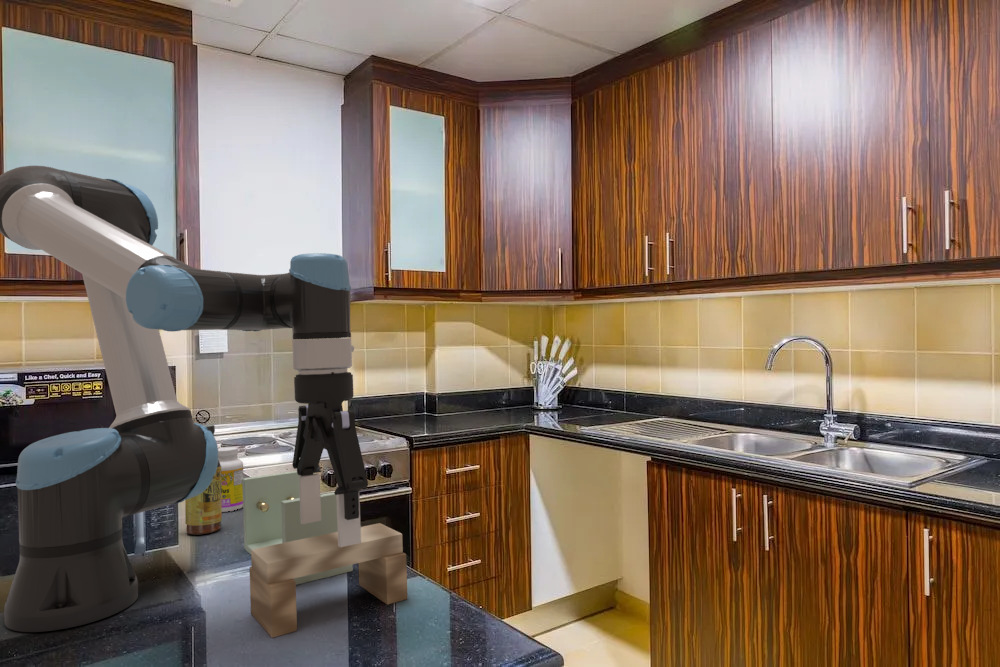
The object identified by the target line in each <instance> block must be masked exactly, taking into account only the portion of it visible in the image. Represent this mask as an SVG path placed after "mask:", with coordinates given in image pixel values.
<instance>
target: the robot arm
mask: <svg viewBox="0 0 1000 667" xmlns="http://www.w3.org/2000/svg"><path fill="white" fill-rule="evenodd" d="M158 219H159V218H158V214H157V211H156V208H155V206H154V204H153V202H152V200H151V198H150V197H149V196H148V195H147V194H146V193H145V192H144V191H142V189H140V188H139V187H137V186H135V185H131V184H128V183H124V182H123V181H119V180H117V179H111V178H101V177H95V176H93V175H87V174H81V173H76V172H73V171H68V170H64V169H58V168H54V167H51V166H45V165H25V166H19V167H15V168H13V169H9V170H7V171H5V172H4V173H2V174H1V175H0V234H1V235H2V236H3V237H4V238H7V239H8V240H10V241H11V242H13V243H15V244H16V245H18V246H20V247H21V248H25V249H28V250H33V251H34V250H35V251H41V250H42V252H45V253H47V254H48V255H50V256H52V257H53V258H55V259H56V260H59V261H60V262H62V263H64V264H66V265H67V266H68V267H70V268H72V269H73V270H75V271H77V272H78V273H80V274H81V275H82V279H83V284H84V287H85V291H86V295H87V299H88V300H87V301H88V304H89V308H90V312H91V316H92V320H93V323H94V327H95V334H96V337H97V340H98V346H99V349H100V352H101V353H100V354H101V358H102V361H103V362H102V363H103V366H104V370H105V375H106V379H107V382H108V386H109V391H110V394H111V399H112V404H113V406H114V410H115V415H116V416H115V419H114V420H113V422H112V423H111V424H110V426H109V427H100V428H99V427H97V428H88V429H82V430H78V431H76V430H75V431H69V432H64V433H60V434H56V435H52V436H49V437H46V438H43V439H39V440H37V441H35V442H32V443H31V444H29V445H28V446H26V447H25V448H24V449H23V450H22V451H21V452H20V454H19V456H18V460H17V469H16V470H17V471H16V472H17V473H16V479H15V485H16V488H17V510H18V511H17V512H18V514H17V515H18V541H19V542H18V543H19V561H18V565H17V568H16V570H15V574H14V577H13V580H12V583H11V586H10V587H9V588H10V589H9V592H8V595H7V598H6V600H5V603H4V608H3V610H4V611H3V612H4V614H3V615H4V626H5V627H6V628H7V629H8V630H11V631H15V632H21V633H42V632H51V631H52V632H53V631H59V630H65V629H70V628H75V627H79V626H83V625H87V624H91V623H94V622H96V621H100V620H103V619H106V618H109V617H111V616H113V615H116V614H118V613H120V612H122V611H123V610H125V609H127V608H129V607H130V606H131V605H133V604H134V603H135V602H136V601H137V600H138V598H139V580H138V577H137V574H136V572H135V570H134V567H133V565H132V563H131V560H130V557H129V555H128V553H127V551H126V548H125V546H124V542H123V518H125V517H129V516H133V515H136V514H141V513H144V512H148V511H152V510H155V509H159V508H162V507H166V506H170V505H171V506H172V505H177V504H179V503H180V504H181V503H182V502H185V500H186V499H189V498H192V497H195V496H197V495H199V494H201V493H202V492H203V491H205V490H206V488H207V487H208V486H209V485H210V483H211V482H212V479H213V476H214V475H215V473H216V470H217V466H218V448H219V447H218V444H217V439H216V437H215V436H214V435H215V434H214V435H213V434H212V432H211V431H208V429H207V428H206V427H205V426H203V425H204V424H200V423H198V422H195V423H194V419H193V415H192V414H193V413H192V410H191V409H190V408H189V407H187V406H186V405H183V404H182V403H180V402H179V401H178V399H177V395H176V391H175V387H174V383H173V380H172V376H171V371H170V368H169V364H168V360H167V354H166V353H165V352H166V351H165V347H164V344H163V340H162V336H161V332H160V330H161V331H166V332H180V331H209V330H210V331H211V330H212V331H213V330H215V331H217V330H221V331H223V330H225V331H242V332H259V331H267V330H276V329H277V330H278V329H279V330H280V329H292V368H293V370H294V371H297V374H296V375H295V377H293V381H294V382H293V385H294V386H293V387H294V388H293V389H294V400H295V402H296V403H297V404H298V403H299V404H305V405H299V406H298V409H297V410H298V423H297V428H296V429H297V430H296V435H295V436H296V437H295V442H294V443H295V444H294V450H293V451H294V452H293V458H292V468H293V469H295V470H296V471H297V473H298V475H301V476H299V491H300V520H301V524H306V523H312V522H317V521H321V497H320V494H321V474H320V473H321V472H322V468H321V466H320V462H321V458H322V454H323V452H324V450H326V452H327V454H328V457H329V461H330V464H331V467H332V471H333V474H334V477H335V480H336V483H337V487H336V488H335V490H334V493H335V495H336V500H337V529H338V546H339V547H344V546H349V545H353V544H358V543H361V527H362V525H361V504H360V501H361V500H360V492H361V491H362V489H366V488H368V487H369V483H368V482H369V481H368V477H367V472H366V468H365V464H364V459H363V455H362V451H361V446H360V441H359V438H358V433H357V429H356V417H355V411H354V410H352V409H351V410H343V402H347V401H350V400H352V399H353V397H354V375H353V374H352V372H349V370H348V369H350V368H351V367H352V366H353V359H352V358H353V356H352V355H353V354H352V353H353V352H354V351H355V345H352V333H351V332H352V331H351V291H352V287H351V283H350V274H349V273H350V272H349V263H348V261H347V259H346V258H345V257H343V256H342V255H339V254H334V253H326V252H325V253H322V252H321V253H319V252H313V253H309V252H308V253H302V254H301V253H300V254H297V255H294V256H292V257H291V259H290V262H289V265H290V268H289V269H288V272H287V273H276V274H252V273H238V272H229V271H221V270H219V271H218V270H211V269H210V270H209V269H200V268H196V267H194V266H193V267H192V266H190V265H189V264H187V263H185V262H183V261H181V260H179V259H177V258H175V257H173V255H170V254H168V253H167V252H165V251H163V250H161V249H159V248H157V247H155V246H153V245H154V244H155V241H156V240H157V236H158V234H157V233H156V230H158V229H159V221H158Z"/></svg>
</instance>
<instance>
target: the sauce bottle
mask: <svg viewBox="0 0 1000 667" xmlns="http://www.w3.org/2000/svg"><path fill="white" fill-rule="evenodd" d="M202 425H203V426H205V427H206V428H207V429H208V431H211V432H212V434H213V435H215V431H216V430H215V429H216V427H215V425H214V424H202ZM184 502H185V514H184V515H185V524H186V532H187V534H188V535H192V536H194V535H196V536H199V535H207V534H210V533H211V534H212V533H215V532H218V531H219V530H220V529H221V526H222V520H223V518H222V517H223V514H222V513H223V512H222V491H221V465H220V462H219V460H218V466H217V470H216V473H215V475H214V476H213V479H212V482H211V483H210V485H209V486H208V487H207V488H206V490H205V491H203V492H202V493H201V494H199V495H197V496H195V497H192V498H189V499H186V500H184Z"/></svg>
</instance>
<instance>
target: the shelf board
mask: <svg viewBox="0 0 1000 667" xmlns="http://www.w3.org/2000/svg"><path fill="white" fill-rule="evenodd" d="M403 549H404V546H403V533H401V532H400V531H398V530H395V529H393V528H391V527H389V526H386V525H385V524H383V523H380V522H379V523H373V524H368V525H364V526H361V543H358V544H353V545H349V546H344V547H339V546H338V532H334V533H329V534H324V535H320V536H315V537H310V538H305V539H300V540H295V541H291V542H286V543H281V544H276V545H271V546H266V547H261V548H257V549H252V550H251V554H250V556H251V558H250V559H251V567H252V570H253V571H254V572H255V573H256V574H257V575H258V576H259V577H260V578H261V579H263V580H264V581H265V582H266V583H267V584H268V585H269V584H273V583H277V582H281V581H285V580H290V579H294V578H298V577H302V576H306V575H310V574H315V573H319V572H323V571H327V570H331V569H335V568H340V567H344V566H348V565H352V564H353V565H355V564H359V563H360V562H365V561H369V560H373V559H377V558H381V557H385V556H390V555H394V554H398V553H402V552H403V551H404V550H403ZM403 553H404V552H403Z"/></svg>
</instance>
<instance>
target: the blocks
mask: <svg viewBox="0 0 1000 667" xmlns="http://www.w3.org/2000/svg"><path fill="white" fill-rule="evenodd" d="M407 564H408V563H407V554H406V553H405V552H402V553H398V554H394V555H390V556H385V557H381V558H377V559H373V560H369V561H365V562H360V563H358V586H360V587H361V588H362V589H364V590H365V591H367V592H368V593H370V594H371V595H373V596H374V597H376V598H377V599H378V600H380V601H382V602H383V603H385V604H386V605H391V604H394V603H398V602H401V601H405V600H408V575H407V574H408V570H407V568H408V566H407ZM249 590H250V591H249V593H250V597H249V598H250V614H251V615H252V617H253V618H254V619H255V620H256V621H257V622H258V624H260V627H261V626H262V628H263V629H264V631H265V632H266V633H267V634H268V635H269V636H270V637H271V638H276V637H281V636H283V635H287V634H290V633H294V632H297V631H298V620H297V618H298V615H297V585H296V581H295V580H294V579H290V580H285V581H281V582H277V583H273V584H269V585H268V584H267V583H266V582H265V581H264V580H263V579H261V578H260V577H259V576H258V575H257V574H256V573H255V572H254V571H253V570H252V566H249Z"/></svg>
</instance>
